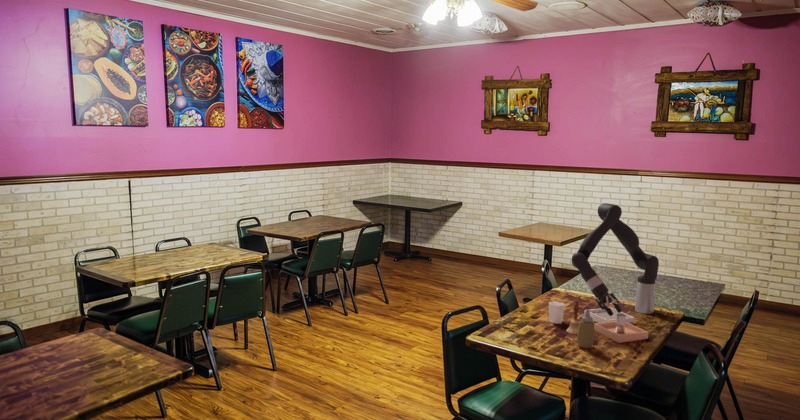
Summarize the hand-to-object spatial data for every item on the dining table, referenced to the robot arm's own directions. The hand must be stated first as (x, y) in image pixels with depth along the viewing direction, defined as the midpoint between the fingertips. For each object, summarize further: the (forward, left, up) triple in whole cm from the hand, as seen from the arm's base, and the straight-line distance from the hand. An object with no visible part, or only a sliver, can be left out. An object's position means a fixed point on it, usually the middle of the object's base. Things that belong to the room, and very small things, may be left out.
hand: (616, 313), depth 284 cm
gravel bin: (-11, -17, -10) cm, 23 cm away
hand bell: (+19, -7, -10) cm, 23 cm away
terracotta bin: (-1, +3, -10) cm, 10 cm away
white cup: (+19, -23, -10) cm, 32 cm away
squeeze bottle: (+27, +11, -10) cm, 31 cm away
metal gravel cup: (-1, +3, -9) cm, 10 cm away
